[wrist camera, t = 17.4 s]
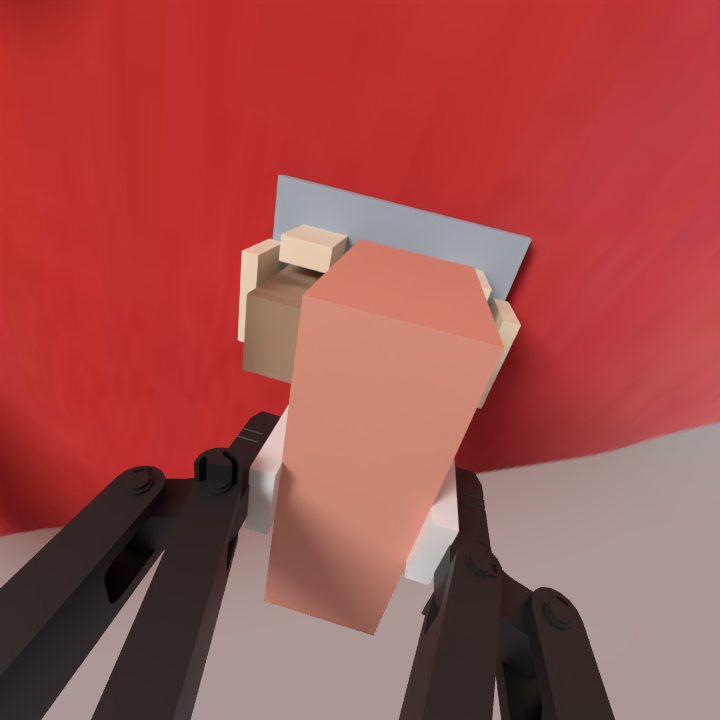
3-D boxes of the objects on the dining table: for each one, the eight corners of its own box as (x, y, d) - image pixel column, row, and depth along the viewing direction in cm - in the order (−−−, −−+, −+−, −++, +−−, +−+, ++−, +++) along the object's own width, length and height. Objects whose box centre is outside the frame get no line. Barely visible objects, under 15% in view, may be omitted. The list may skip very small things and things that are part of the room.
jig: (264, 357, 30) (235, 388, 26) (280, 173, 24) (245, 175, 19) (456, 411, 30) (459, 453, 25) (532, 237, 23) (554, 254, 18)
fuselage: (291, 317, 27) (242, 369, 20) (299, 258, 25) (246, 294, 18) (448, 360, 26) (453, 429, 20) (470, 303, 24) (484, 359, 17)
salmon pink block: (314, 471, 21) (264, 600, 14) (360, 238, 14) (302, 294, 8) (392, 494, 20) (373, 635, 14) (474, 267, 14) (504, 347, 8)
